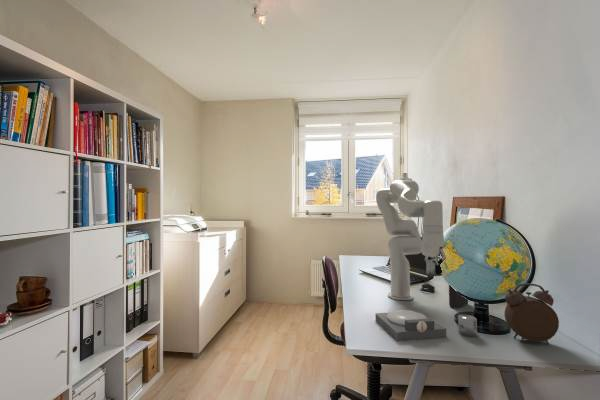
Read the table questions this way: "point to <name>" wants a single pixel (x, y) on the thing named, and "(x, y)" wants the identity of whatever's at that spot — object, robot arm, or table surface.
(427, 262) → the cylinder
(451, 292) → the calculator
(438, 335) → the scale
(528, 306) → the alarm clock
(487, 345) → the table surface
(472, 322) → the cylinder
